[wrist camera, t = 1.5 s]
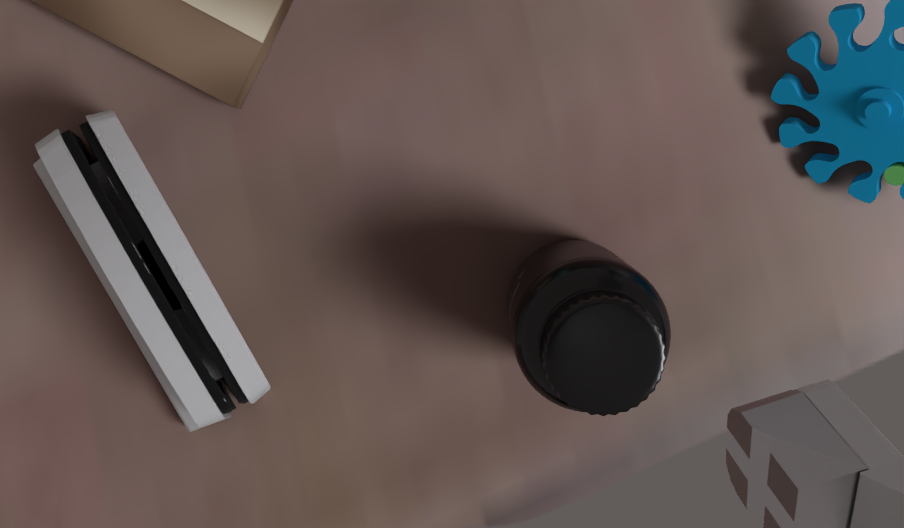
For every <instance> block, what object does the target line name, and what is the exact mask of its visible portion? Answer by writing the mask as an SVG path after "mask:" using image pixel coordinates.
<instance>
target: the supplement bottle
mask: <svg viewBox="0 0 904 528" xmlns="http://www.w3.org/2000/svg"><path fill="white" fill-rule="evenodd" d="M507 314H508V321H509V326H510V332H511V337H512V342H513V348H514V352H515V356H516V359H517V362H518V364H519V366H520V368H521V370H522V372H523V374H524V376H525V377H526V379H527V380H528V382H529V383H530V384H531V385H532V386H533V387H534V389H535V390H536V391H538V392H539V393H540V394H541V395H542V396H544V397H545V398H546V399H548V400H549V401H551V402H553V403H555V404H557V405H559V406H561V407H564V408H567V409H570V410H574V411H580V412H588V413H589V414H591V415H595V414H599V415H601V416H605V415H607V414H611V415H616V414H618V413H619V412H627V411H628V410H629V409H630V408H633V407H637V406H638V405H639V404H640V402H641V401H644V400H646V399H647V398H648V395H649V394H650V393H652V392H653V391H654V390H655V386H656V384H657V383H658V382H659V381H660V379H661V373H662V372H663V370H664V364H665V362H666V359H667V356H668V353H669V347H670V338H671V330H670V321H669V317H668V313H667V310H666V307H665V305H664V303H663V300H662V299H661V297H660V295H659V294H658V292H657V291H656V289H655V288H654V287H653V286H652V284H651V283H650V282H649V281H648V280H647V279H646V278H645V277H644V276H643V275H641V274H640V273H639V272H638V271H636V270H635V269H634V268H632V267H631V266H630V265H628V264H627V263H626V262H624V261H623V260H622V259H620V258H619V257H618V256H616V255H615V254H614V253H612V252H611V251H609V250H607V249H606V248H604V247H602V246H600V245H597V244H594V243H591V242H587V241H582V240H564V241H558V242H554V243H551V244H548V245H546V246H544V247H542V248H540V249H538V250H537V251H535V252H534V253H532V254H531V255H530V256H529V257H528V258H527V259H526V260H525V261H524V262H523V263H522V264H521V265H520V267H519V268H518V270H517V271H516V273H515V275H514V277H513V279H512V281H511V284H510V287H509V291H508V297H507Z"/></svg>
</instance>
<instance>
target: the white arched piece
mask: <svg viewBox="0 0 904 528" xmlns="http://www.w3.org/2000/svg"><path fill="white" fill-rule="evenodd" d="M85 117H86V119H87V122H85V123H83V124H81V125H79V126H80V128H81V130H82V132H83V134H84V136H85V137H86V139H87V141H88V143H89V145H90V146H91V148H92V150H93V152H94V154H95V155H96V157H97V159H98V162H96V163H94V161H93V159H92V157H91V155H90V154H89V152H88V150H87V148H86V147H85V145H84V143H83V141H82V140H81V139H80V138H79V137H78V136H77V135H75V134H74V133H73V132H72V131H70V130H68V131H66V132H61V131H60V130H59V129H56V130H54V131H53V132H51V133H50V134H49V135H47V136H46V137H44V138H43V139H41V140H40V141H39V142H37V143H36V144H35V148H36V150H37V152H38V154H39V156H40V159H39V160H38V161H36V162H35V163H34V164H33V166H34V168H35V170H36V172H37V173H38V175H39V177H40V178H41V180H42V182H43V184H44V185H45V187H46V189H47V190H48V192H49V194H50V196H51V197H52V199H53V201H54V202H55V204H56V206H57V208H58V209H59V211H60V213H61V214H62V216H63V218H64V220H65V221H66V223H67V225H68V226H69V228H70V230H71V231H72V233H73V235H74V237H75V238H76V240H77V242H78V243H79V245H80V247H81V249H82V250H83V252H84V254H85V255H86V257H87V259H88V261H89V262H90V264H91V266H92V267H93V269H94V271H95V273H96V274H97V276H98V278H99V279H100V281H101V283H102V284H103V286H104V288H105V290H106V291H107V293H108V295H109V296H110V298H111V300H112V302H113V303H114V305H115V307H116V308H117V310H118V312H119V314H120V315H121V317H122V319H123V320H124V322H125V324H126V326H127V327H128V329H129V331H130V332H131V334H132V336H133V338H134V339H135V341H136V343H137V344H138V346H139V348H140V349H141V351H142V353H143V355H144V356H145V358H146V360H147V361H148V363H149V365H150V367H151V368H152V370H153V372H154V373H155V375H156V377H157V379H158V380H159V382H160V384H161V385H162V387H163V389H164V391H165V392H166V394H167V396H168V397H169V399H170V401H171V402H172V404H173V406H174V408H175V409H176V411H177V413H178V414H179V416H180V418H181V420H182V421H183V423H184V425H185V426H186V428H187V430H188V432H191V431H194V430H197V429H199V428H202V427H205V426H208V425H210V424H213V423H216V422H218V421H221V420H224V419H227V418H229V417H231V414H230V413H229V412H230V411H232V410H234V409H235V408H236V407H235V405H234V403H233V401H232V400H231V398H230V396H229V395H228V393H227V391H226V390H225V388H224V386H223V384H222V383H221V381H216V380H218V379H220V378H222V377H224V379H225V381H226V382H227V384H228V386H229V387H230V389H231V391H232V392H233V394H234V396H235V397H236V399H237V400H238V402H239V403H246V402H248V401H249V402H250V403H255V402H256V401H257V400H258V399H260V398H261V397H262V396H263V395H264V394H265V393H266V392H267V391H269V390H270V389H271V387H270V385H269V383H268V381H267V379H266V378H265V376H264V374H263V372H262V371H261V369H260V367H259V365H258V364H257V362H256V360H255V358H254V357H253V355H252V353H251V351H250V350H249V348H248V346H247V344H246V343H245V341H244V339H243V337H242V335H241V334H240V332H239V330H238V328H237V327H236V325H235V323H234V321H233V320H232V318H231V316H230V314H229V313H228V311H227V309H226V307H225V306H224V304H223V302H222V300H221V298H220V297H219V295H218V293H217V291H216V290H215V288H214V286H213V284H212V283H211V281H210V279H209V277H208V276H207V274H206V272H205V270H204V269H203V267H202V265H201V263H200V262H199V260H198V258H197V256H196V255H195V253H194V251H193V249H192V248H191V246H190V244H189V242H188V241H187V239H186V237H185V235H184V234H183V232H182V230H181V228H180V227H179V225H178V223H177V221H176V220H175V218H174V216H173V214H172V213H171V211H170V209H169V207H168V206H167V204H166V202H165V200H164V199H163V197H162V195H161V193H160V192H159V190H158V188H157V186H156V185H155V183H154V181H153V179H152V178H151V176H150V174H149V172H148V171H147V169H146V167H145V165H144V164H143V162H142V160H141V158H140V157H139V155H138V153H137V151H136V150H135V148H134V146H133V144H132V143H131V141H130V139H129V137H128V136H127V134H126V132H125V130H124V129H123V127H122V125H121V124H120V122H119V120H118V118H117V117H116V115H115V113H114V112H113V110H108V111H104V112H99V113H95V114H91V115H86V116H85ZM143 240H144V242H145V243H146V245H147V247H148V249H149V250H150V252H151V254H152V256H153V257H154V259H155V261H156V263H157V264H158V266H159V268H160V270H161V271H162V273H163V275H164V277H165V278H166V280H167V282H168V283H169V285H170V287H171V289H172V290H173V292H174V294H175V295H176V297H177V299H178V301H179V302H180V304H181V306H182V307H183V308H182V309H179V310H173V309H172V307H171V306H170V304H169V302H168V300H167V299H166V297H165V295H164V293H163V292H162V290H161V288H160V287H159V285H158V283H157V281H156V280H155V278H154V276H153V274H152V273H151V271H150V269H149V267H148V266H147V264H146V262H145V260H144V259H143V257H142V255H141V254H140V252H139V250H138V245H139V243H140V242H141V241H143Z"/></svg>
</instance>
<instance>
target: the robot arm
mask: <svg viewBox="0 0 904 528" xmlns="http://www.w3.org/2000/svg"><path fill="white" fill-rule="evenodd" d="M727 428H728V429H729V431H730V432H731V434H732V435H733V436H734V438H733V440H732V441H731V442H730V444H729V445H728V446H727V448H726V465H727V468H728V472H729V476H730V480H731V483H732V485H733V487H734V489H735V491H736V493H737V495H738V497H739V498H740V500H741V501H742V503H743V504H744V506H745V508H746V509H747V510H749V511H751V512H753V513H755V514H757V515H759V516H761V517H763V518H764V526H763V528H904V457H903V456H902V455H901V454H900V453H899V451H898V450H897V449H896V448H895V447H894V446H893V445H892V444H891V443H890V442H889V441H888V440H887V439H886V437H885V436H883V434H882V433H881V432H880V431H879V430H878V429H877V428H876V427H875V426H874V425H873V423H872V422H871V421H870V420H869V419H868V418H867V417H866V416H865V415H864V414H863V413H862V412H861V410H859V408H858V407H857V406H856V405H855V404H854V403H853V402H852V401H851V400H850V399H849V398H848V397H847V396H846V394H845V393H844V392H843V391H842V390H841V389H840V388H839V387H838V386H837V385H836V384H835V383H833V382H831V381H829V380H825V381H822V382H818V383H815V384H812V385H808V386H805V387H802V388H798V389H796V390H789V391H786V392H783V393H780V394H777V395H773V396H770V397H767V398H764V399H761V400H758V401H754V402H751V403H748V404H745V405H742V406H739V407H735V408H732V409H731V410H730V412H729V414H728V419H727Z"/></svg>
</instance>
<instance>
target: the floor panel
mask: <svg viewBox="0 0 904 528" xmlns="http://www.w3.org/2000/svg"><path fill="white" fill-rule="evenodd" d="M31 1H33V2H35V3H36V4H38V5H40V6H42V7H44V8H46V9H48V10H50V11H52V12H54V13H55V14H57V15H59V16H61V17H63V18H65V19H67V20H69V21H71V22H73V23H74V24H76V25H78V26H80V27H82V28H84V29H86V30H88V31H90V32H92V33H93V34H95V35H97V36H99V37H101V38H103V39H105V40H107V41H109V42H111V43H112V44H114V45H116V46H118V47H120V48H122V49H124V50H126V51H128V52H130V53H131V54H133V55H135V56H137V57H139V58H141V59H143V60H145V61H147V62H149V63H150V64H152V65H154V66H156V67H158V68H160V69H162V70H164V71H166V72H168V73H169V74H171V75H173V76H175V77H177V78H179V79H181V80H183V81H185V82H187V83H188V84H190V85H192V86H194V87H196V88H198V89H200V90H202V91H204V92H206V93H207V94H209V95H211V96H213V97H215V98H217V99H219V100H221V101H223V102H225V103H226V104H228V105H230V106H232V107H236V108H240V109H241V107H242V105H243V103H244V101H245V99H246V97H247V95H248V93H249V91H250V89H251V86H252V84H253V82H254V80H255V78H256V76H257V74H258V72H259V70H260V68H261V66H262V64H263V62H264V60H265V57H266V55H267V53H268V51H269V49H270V47H271V45H272V43H273V41H274V39H275V37H276V35H277V33H278V31H279V28H280V26H281V24H282V22H283V20H284V18H285V16H286V14H287V12H288V10H289V8H290V6H291V4H292V2H293V0H31Z"/></svg>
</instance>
